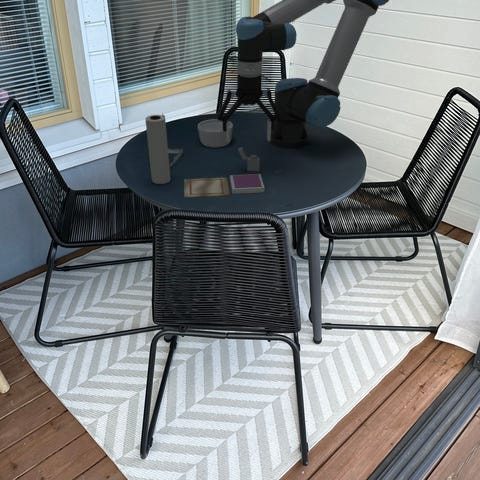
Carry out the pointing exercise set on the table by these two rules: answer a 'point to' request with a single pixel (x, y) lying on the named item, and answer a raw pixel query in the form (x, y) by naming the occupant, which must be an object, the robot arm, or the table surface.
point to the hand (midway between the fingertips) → (248, 140)
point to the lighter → (250, 160)
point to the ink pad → (246, 184)
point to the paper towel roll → (158, 148)
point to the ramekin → (213, 133)
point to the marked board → (206, 187)
